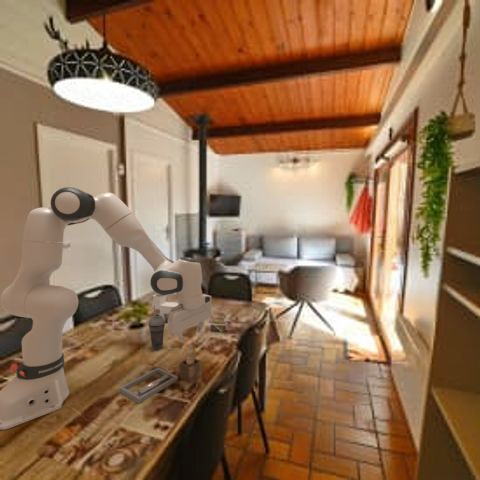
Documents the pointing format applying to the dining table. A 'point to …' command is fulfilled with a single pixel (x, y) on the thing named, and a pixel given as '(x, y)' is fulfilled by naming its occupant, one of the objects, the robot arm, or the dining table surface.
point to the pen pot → (190, 370)
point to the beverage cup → (156, 331)
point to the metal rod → (153, 385)
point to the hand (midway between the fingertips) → (190, 336)
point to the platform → (218, 325)
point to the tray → (140, 399)
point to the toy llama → (162, 305)
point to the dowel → (190, 356)
